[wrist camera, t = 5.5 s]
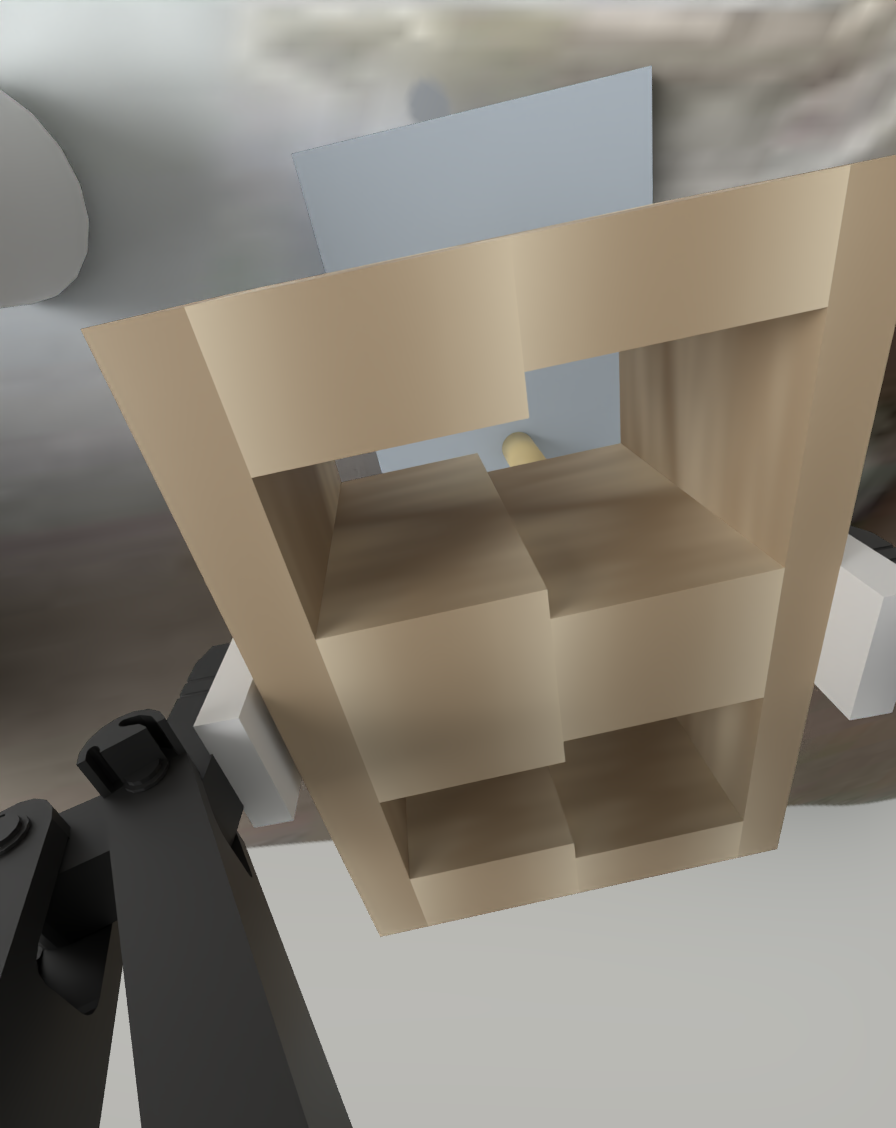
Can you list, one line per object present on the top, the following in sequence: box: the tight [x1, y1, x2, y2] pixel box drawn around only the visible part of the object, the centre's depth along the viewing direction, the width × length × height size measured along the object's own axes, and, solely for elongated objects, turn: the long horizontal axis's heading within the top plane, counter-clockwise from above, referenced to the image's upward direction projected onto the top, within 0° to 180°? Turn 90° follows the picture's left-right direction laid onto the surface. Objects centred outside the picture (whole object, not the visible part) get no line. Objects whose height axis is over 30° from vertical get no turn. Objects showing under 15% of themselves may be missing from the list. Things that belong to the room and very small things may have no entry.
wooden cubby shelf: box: [81, 155, 896, 937], centre depth 13 cm, size 10×14×7 cm
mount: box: [292, 66, 653, 473], centre depth 25 cm, size 14×20×4 cm
